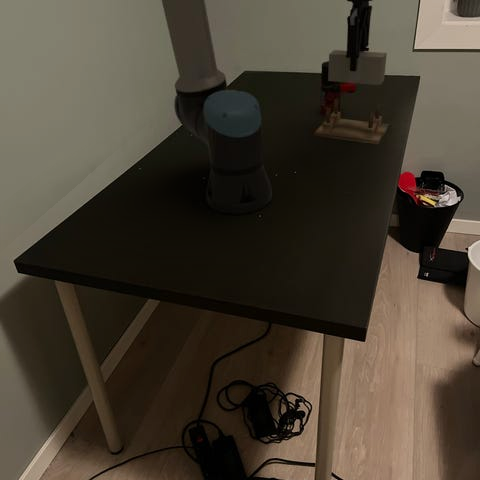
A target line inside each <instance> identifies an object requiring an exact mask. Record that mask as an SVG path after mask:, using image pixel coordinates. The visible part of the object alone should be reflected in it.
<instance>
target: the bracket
mask: <svg viewBox="0 0 480 480" xmlns="http://www.w3.org/2000/svg"><path fill="white" fill-rule="evenodd" d="M356 85H357V83H348V82H341V93H342V94H343V93H349V92H354V91H355V90H356Z"/></svg>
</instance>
